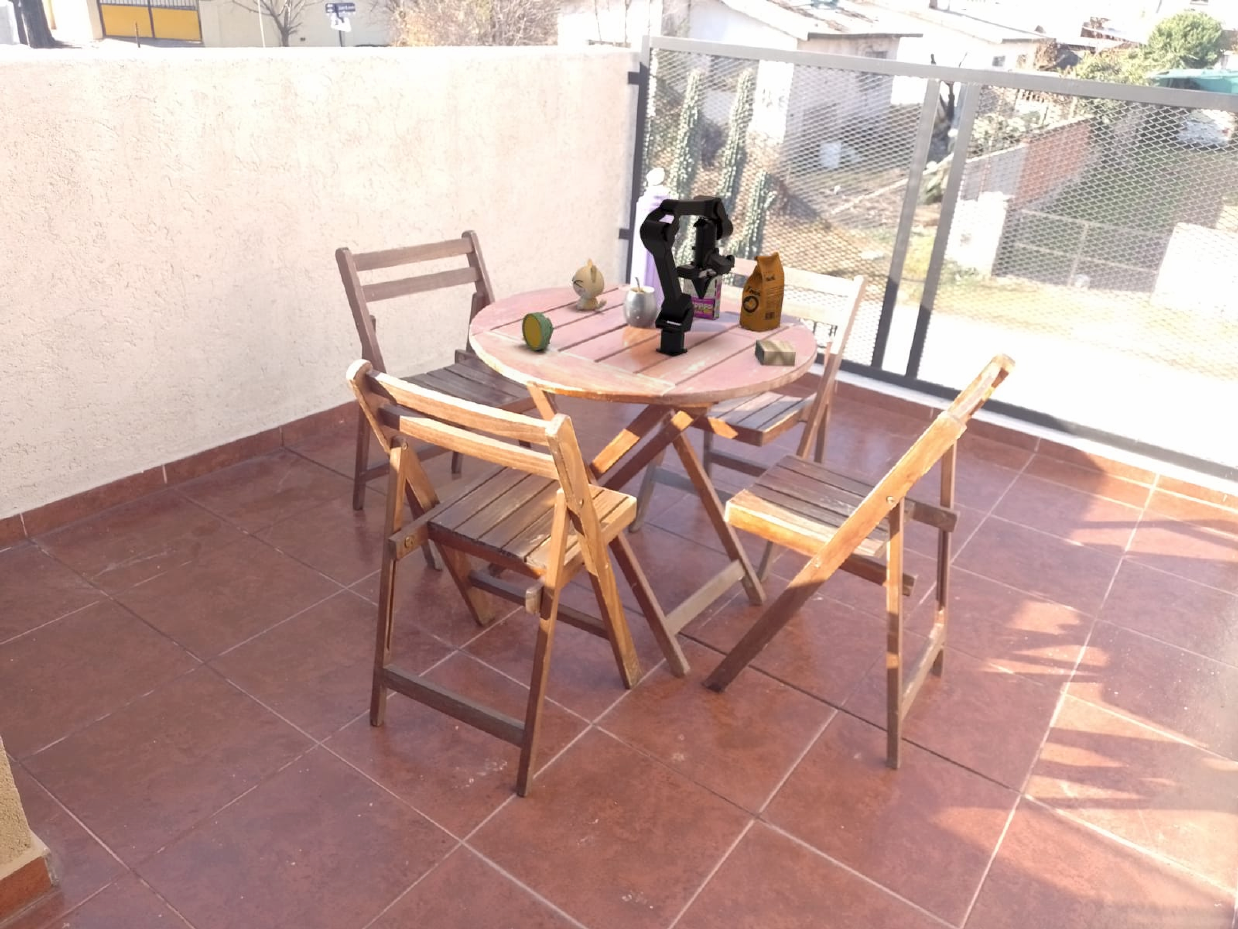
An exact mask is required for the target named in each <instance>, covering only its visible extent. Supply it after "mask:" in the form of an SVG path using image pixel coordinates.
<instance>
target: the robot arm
mask: <svg viewBox="0 0 1238 929" xmlns="http://www.w3.org/2000/svg"><path fill="white" fill-rule="evenodd" d="M661 201H662V202H660V203H659V206H657V207H656V208H655V209H653V210H652V211H650V212H649V213H648V214H647V215H646V216H645V218H644V220H643V221H642V223H641V225H640V226H639V232H638V233H639V238H640V240H641V243H642V244H643V247H644V249H646V251H648V252H649V254H651V255H652V257H653V262H654V265H655V268H656V269H655V270H656V272H657V275H658V279H659V282H660V287H661V291H662V295H663V300H662V303H661V304H660V311H659V313H658V315H657V317H656V319H655V320H654V325H655V326H654V327H655V329H657V330H658V329H659V330H660V343H659V344H660V346H659V347H658V348H655V351H656V352H659V353H663V354H666V355H669V356H673V357H674V356H678V355H680V354H681V355H682V354H684V353H687V352H688V349H686V348H685V338H686V336H685V333H689V332H691V329H692V325H693V321H694V318H695V317H694V309H693V306H694V304H693V303H692V297H691V295H690V294H686V293H683V289H682V286H681V282H680V279H679V278H681V279H683V280H684V279H688V280H691V281H692V283H693V285H694V288H695V290H696V293H697V295H698V298H699V299H701V300H702V299H704V296H705V294H706V291H707V289H708V287H709V284H710V282H711V281H712V280H713V279H714V278H715V277H717V276H718V275H720V276H722V277H723V275H729V274H730V272H732V269H734V268H735V263H736V256H735V255H734V254H732V253H730V254H726V255H725V254H724V255H722V254H720V248H719V247H718V246H717V241H720V240H724V239H728V238H729V237H731V236H732V234H733V233H734V225H733V222H732V221H731V219H729V213H728V214H727V211H726V208H725V205H724V203H723V201H722V198H721V197H719V196H712V195H705V194H697V195H696V196H693V197H692V198H691V199H672V198H666V199H665V198H664V199H663V200H661ZM666 216H670V217H671V216H672V217H673V219H672V221H671V223H670V222H667V221H661V220H663V219H664V218H665V217H666ZM682 216H695V217H698V219H697V220H696V221H695V222H694V223H693V224H692V228H695V239H694V240H695V242H694V245H691V250H692V251H694V253H693V260H690V261H691V262H690V265H694V266H689V265H685V264H682V265H676V262H675V257H674V254H673V250H672V249H673V247H674V244H675V242H676V235H677V233H678V232H679V230H680V228H681V226H680V224H681V223H680V219H681V217H682ZM715 272H716V274H715ZM670 322H671V323H670Z"/></svg>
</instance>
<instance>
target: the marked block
mask: <svg viewBox="0 0 1238 929" xmlns="http://www.w3.org/2000/svg"><path fill="white" fill-rule="evenodd" d="M754 355H755V356H756V358H757V360H758V362H759V363H760V365H761V366H780V367H781V366H785V367H786V366H787V367H788V366H789V367H795V363H796V358H797V357H796V356H797V352H796V350H795V348H794V346H792V344H791V342H790V341H789V340H773V339H772V340H769V339H767V340H766V339H755V347H754Z"/></svg>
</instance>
